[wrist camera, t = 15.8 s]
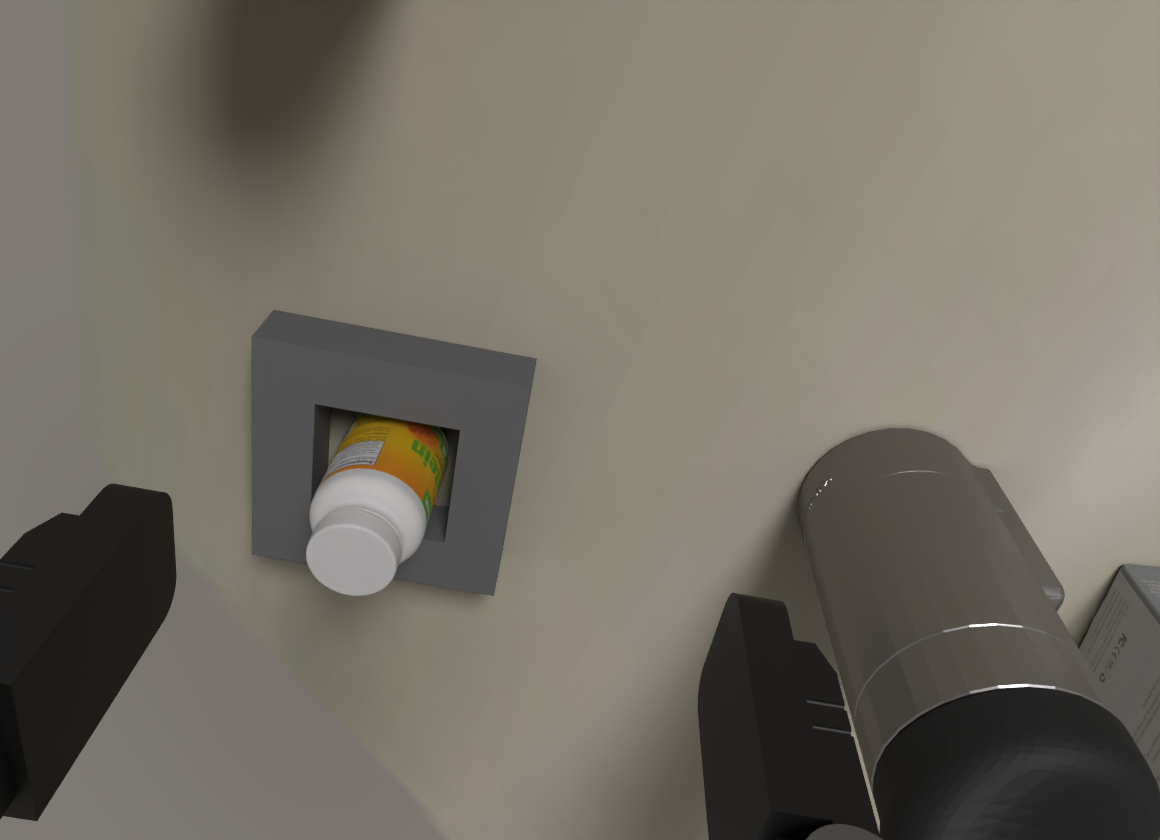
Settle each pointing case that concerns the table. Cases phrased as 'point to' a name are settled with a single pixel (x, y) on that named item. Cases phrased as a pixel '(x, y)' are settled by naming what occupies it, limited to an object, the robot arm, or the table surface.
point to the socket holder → (396, 390)
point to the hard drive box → (1130, 655)
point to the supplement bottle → (374, 502)
